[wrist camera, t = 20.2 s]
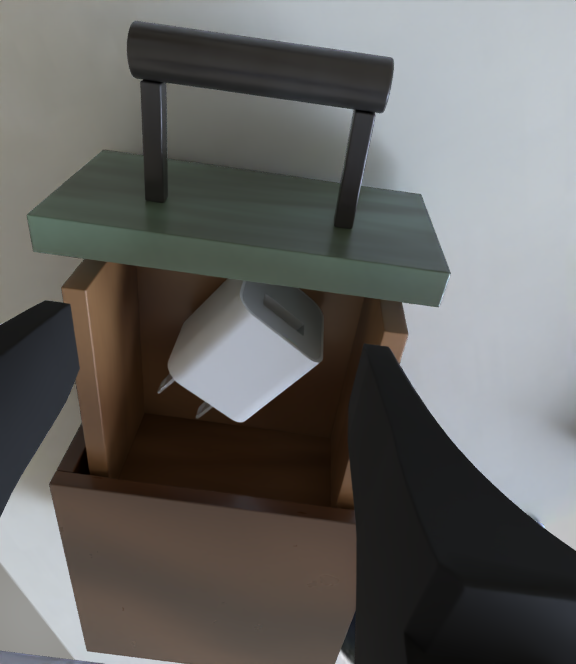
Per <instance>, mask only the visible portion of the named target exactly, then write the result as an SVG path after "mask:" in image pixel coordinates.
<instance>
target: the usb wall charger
mask: <svg viewBox="0 0 576 664" xmlns="http://www.w3.org/2000/svg"><path fill="white" fill-rule="evenodd" d="M323 338H324V316H323V313H322V311H321V309H320V308H319V306H318V305H317V304H316V303H315V302H314V301H313V300H312V299H311V298H310V297H309V296H308V295H306V294H305V293H304V292H303V291H302V290H300V289H299V288H295V287H287V286H280V285H273V284H266V283H258V282H251V281H244V280H236V279H229V278H228V279H227V280H226V281H225V282H224V283H223V284H222V285H221V286H220V287H219V288H218V289H217V290H216V291H215V292H214V293H213V294H212V295H211V296H210V297H209V298H208V299H207V300H206V301H205V302H204V303H203V304H202V305H201V306H200V307H199V308H198V309H197V310H196V311H195V312H194V313H193V314H192V315H191V316H190V317H189V318H188V319H187V320H186V321H185V322H184V323H183V325H182V328H181V330H180V333H179V335H178V338H177V340H176V343H175V345H174V348H173V350H172V353H171V355H170V358H169V360H168V370H169V372H170V374H169V375H168V376H167V377H166V378H165V379H164V380H163V381H162V382H161V384H160V387H159V389H158V392H157V393H158V394H160V393H161V392H162V391H163V390H165V389H166V388H167V387H168V386H169V385H170V384H172V383H173V382H174V381H176V382H177V383H179V384H180V385H181V386H183V387H184V388H186V389H187V390H189V391H190V392H192V393H193V394H195V395H196V396H198V397H199V398H201V399H202V400H204V401H205V402H204V403H203V404H201V405H200V406H199V408H198V411H197V415H196V418H197V419H198V418H200V417H201V416H202V415H204V414H205V413H206V412H207V411H209V410H210V409H211V408H212V407H214V408H216V409H217V410H219V411H220V412H221V413H223V414H224V415H226V416H227V417H229V418H230V419H232V420H234V421H236V422H244V421H246V420H247V419H248V418H250V417H251V416H252V415H253V414H255V413H256V412H257V411H259V410H260V409H261V408H262V407H264V406H265V405H266V404H268V403H269V402H270V401H271V400H273V399H274V398H275V397H276V396H278V395H279V394H280V393H282V392H283V391H284V390H285V389H287V388H288V387H289V386H291V385H292V384H293V383H294V382H296V381H297V380H298V379H300V378H301V377H302V376H303V375H305V374H306V373H307V372H309V371H310V370H311V369H312V368H314V367H315V366H316V365H318V364H319V363H320V362H321V361H322V360H323ZM203 408H204V409H203Z"/></svg>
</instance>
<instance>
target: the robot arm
mask: <svg viewBox="0 0 576 664" xmlns="http://www.w3.org/2000/svg"><path fill="white" fill-rule="evenodd" d="M79 370H80V366H79V359H78V352H77V345H76V339H75V332H74V325H73V318H72V311H71V304H68V303H61V302H54V301H46V300H45V301H43V302H41V303H39V304H37V305H35V306H33V307H31V308H30V309H28V310H26V311H24V312H22V313H21V314H19V315H17V316H15V317H14V318H12V319H10V320H8V321H7V322H5V323H3V324H1V325H0V517H1V515H2V512H3V510H4V508H5V506H6V504H7V502H8V500H9V498H10V495H11V493H12V492H13V490H14V488H15V486H16V484H17V482H18V481H19V479H20V477H21V475H22V474H23V472H24V470H25V469H26V467H27V466H28V464H29V462H30V461H31V459H32V457H33V456H34V454H35V453H36V451H37V449H38V448H39V446H40V444H41V443H42V441H43V439H44V438H45V436H46V435H47V433H48V431H49V430H50V428H51V426H52V425H53V423H54V421H55V420H56V418H57V416H58V415H59V413H60V411H61V410H62V408H63V406H64V404H65V403H66V400H67V398H68V396H69V394H70V391H71V389H72V387H73V384H74V382H75V380H76V377H77V375H78V372H79ZM348 451H349V461H350V471H351V481H352V491H353V501H354V511H355V521H356V627H355V664H576V551H575V550H574V549H572V548H571V547H569V546H568V545H567V544H565V543H564V542H562V541H561V540H560V539H558V538H557V537H555V536H554V535H552V534H551V533H550V532H548V531H547V530H546V529H545V527H544V525H543V524H542V523H539V522H536V521H535V520H533V519H532V518H531V517H530V516H528V515H527V514H526V513H525V512H523V511H522V510H521V509H520V508H519V507H518V506H516V505H515V504H514V503H513V502H512V501H511V500H509V499H508V498H507V497H506V496H505V495H504V494H503V493H502V492H501V491H500V490H499V489H497V488H496V487H495V486H494V485H493V484H492V483H491V482H490V481H489V480H488V479H487V478H486V477H485V476H484V475H483V474H482V473H481V472H480V471H479V470H478V469H477V468H476V467H475V466H474V465H473V464H472V463H471V462H470V461H469V460H468V459H467V457H466V456H465V455H464V454H463V453H462V452H461V451H460V450H459V449H458V448H457V446H456V445H455V444H454V443H453V442H452V441H451V439H450V438H449V437H448V436H447V434H446V433H445V432H444V430H443V429H442V428H441V427H440V425H439V424H438V423H437V421H436V420H435V419H434V417H433V416H432V414H431V413H430V412H429V410H428V409H427V407H426V406H425V404H424V403H423V401H422V400H421V398H420V397H419V395H418V394H417V392H416V391H415V389H414V388H413V386H412V384H411V383H410V381H409V380H408V378H407V376H406V375H405V373H404V371H403V370H402V368H401V366H400V364H399V363H398V361H397V359H396V357H395V356H394V354H393V352H392V351H391V349H390V348H389V347H388V346H380V345H373V344H365V343H364V345H363V349H362V353H361V357H360V361H359V365H358V369H357V373H356V377H355V381H354V385H353V389H352V392H351V396H350V400H349V404H348ZM0 664H103V663H95V662H87V661H79V660H71V659H63V658H54V657H47V656H38V655H30V654H23V653H15V652H6V651H0Z"/></svg>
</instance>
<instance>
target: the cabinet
mask: <svg viewBox="0 0 576 664" xmlns="http://www.w3.org/2000/svg"><path fill="white" fill-rule="evenodd" d="M49 487H50V491H51V495H52V500H53V504H54V509H55V513H56V517H57V522H58V526H59V531H60V535H61V539H62V544H63V548H64V553H65V557H66V561H67V566H68V570H69V575H70V579H71V583H72V588H73V592H74V597H75V601H76V605H77V610H78V614H79V619H80V623H81V627H82V632H83V636H84V641H85V645H86V649H87V651H90V652H98V653H105V654H113V655H121V656H129V657H137V658H145V659H153V660H161V661H169V662H177V663H184V664H335V662H336V660H337V657H338V654H339V652H340V649H341V647H342V644H343V641H344V639H345V636H346V634H347V631H348V628H349V626H350V623H351V621H352V618H353V615H354V613H355V610H356V521H355V511H354V510H352V509H344V508H336V507H329V506H321V505H314V504H306V503H298V502H291V501H283V500H275V499H268V498H260V497H253V496H245V495H237V494H230V493H222V492H215V491H207V490H199V489H192V488H184V487H177V486H169V485H161V484H154V483H146V482H138V481H131V480H123V479H116V478H108V477H100V476H93V475H90V471H89V465H88V458H87V452H86V445H85V439H84V432H83V426H82V423H81V425H80V427H79V429H78V431H77V433H76V435H75V436H74V438H73V440H72V442H71V444H70V446H69V448H68V450H67V451H66V453H65V455H64V457H63V459H62V461H61V463H60V464H59V466H58V468H57V471H56V472H55V474H54V476H53V477H52V479H51V481H50V483H49Z"/></svg>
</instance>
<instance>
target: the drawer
mask: <svg viewBox="0 0 576 664" xmlns="http://www.w3.org/2000/svg"><path fill="white" fill-rule="evenodd" d="M127 58H128V64H129V69H130V72H131V74H132V76H133V77H134V78H136V79H143V80H142V81H141V82H140V87H141V111H142V135H143V155H137V154H130V153H123V152H116V151H108V150H102V151H101V152H100V153H99V154H98V155H96V156H95V157H94V158H93V159H92V160H91V161H89V162H88V163H87V164H86V165H85V166H83V167H82V168H81V169H80V170H79V171H78V172H76V173H75V174H74V175H73V176H72V177H70V178H69V179H68V180H67V181H66V182H65V183H63V184H62V185H61V186H60V187H59V188H58V189H56V190H55V191H54V192H53V193H52V194H50V195H49V196H48V197H47V198H46V199H45V200H43V201H42V202H41V203H40V204H39V205H37V206H36V207H35V208H34V209H33V210H32V211H30V212H29V213H28V214H27V220H28V225H29V231H30V236H31V242H32V247H33V251H34V252H39V253H47V254H54V255H61V256H69V257H76V258H83V259H84V260H83V261H82V262H81V264H80V265H79V266H78V267H77V269H76V270H75V271H74V272H73V273H72V275H71V276H70V277H69V278H68V280H67V281H66V282H65V283H64V284H63V286H62V287H61V290H62V296H63V303H68V304H71V311H72V318H73V325H74V332H75V339H76V345H77V352H78V359H79V366H80V370H79V372H78V375H77V377H76V380H75V381H76V387H77V394H78V400H79V407H80V413H81V419H82V426H83V432H84V439H85V445H86V452H87V458H88V465H89V471H90V475H93V476H100V477H108V478H116V479H123V480H131V481H138V482H146V483H154V484H161V485H169V486H177V487H184V488H192V489H199V490H207V491H215V492H222V493H230V494H237V495H245V496H253V497H260V498H268V499H275V500H283V501H291V502H298V503H306V504H314V505H321V506H329V507H336V508H344V509H352V510H354V501H353V491H352V481H351V471H350V461H349V451H348V404H349V400H350V396H351V392H352V389H353V385H354V381H355V377H356V373H357V369H358V365H359V361H360V357H361V353H362V349H363V345H364V343H365V344H373V345H380V346H388V347H389V348H390V349H391V351H392V352H393V354H394V356H395V357H396V359H397V361H398V363H399V364H400V361H401V357H402V354H403V351H404V348H405V345H406V341H407V338H408V330H407V325H406V320H405V315H404V310H403V305H402V302H404V303H411V304H419V305H426V306H433V307H439V306H440V304H441V301H442V298H443V295H444V292H445V289H446V286H447V283H448V280H449V277H450V274H451V273H450V270H449V267H448V265H447V262H446V259H445V257H444V254H443V251H442V249H441V246H440V243H439V241H438V238H437V235H436V233H435V230H434V227H433V225H432V222H431V219H430V217H429V214H428V211H427V209H426V206H425V203H424V201H423V198H422V195H421V194H415V193H408V192H401V191H394V190H387V189H380V188H373V187H365V186H361V184H362V180H363V175H364V170H365V165H366V160H367V155H368V150H369V146H370V141H371V136H372V131H373V126H374V121H375V112H376V113H383V112H384V110H385V108H386V105H387V102H388V98H389V94H390V89H391V84H392V78H393V70H394V60H393V58H391V57H385V56H378V55H371V54H364V53H357V52H350V51H343V50H336V49H329V48H322V47H315V46H308V45H301V44H294V43H288V42H281V41H274V40H267V39H260V38H253V37H246V36H239V35H232V34H225V33H218V32H211V31H204V30H197V29H190V28H183V27H176V26H169V25H162V24H155V23H148V22H141V21H134V22H132V24H131V26H130V29H129V33H128V39H127ZM166 83H172V84H179V85H186V86H193V87H200V88H207V89H214V90H221V91H228V92H235V93H242V94H249V95H256V96H263V97H270V98H277V99H284V100H291V101H298V102H305V103H312V104H319V105H326V106H333V107H340V108H347V109H354V110H353V116H352V121H351V127H350V132H349V138H348V143H347V149H346V155H345V160H344V166H343V171H342V177H341V182H340V183H337V182H330V181H323V180H315V179H308V178H301V177H294V176H287V175H280V174H273V173H265V172H258V171H251V170H244V169H237V168H230V167H223V166H216V165H208V164H201V163H194V162H187V161H180V160H173V159H167V97H166ZM228 278H229V279H236V280H244V281H251V282H258V283H266V284H273V285H280V286H287V287H295V288H299V289H300V290H302V291H303V292H304V293H305V294H306V295H308V296H309V297H310V298H311V299H312V300H313V301H314V302H315V303H316V304H317V305H318V306H319V308H320V309H321V311H322V313H323V316H324V338H323V360H322V361H321V362H320V363H319V364H318V365H316V366H315V367H314V368H312V369H311V370H310V371H309V372H307V373H306V374H305V375H303V376H302V377H301V378H300V379H298V380H297V381H296V382H294V383H293V384H292V385H291V386H289V387H288V388H287V389H285V390H284V391H283V392H282V393H280V394H279V395H278V396H276V397H275V398H274V399H273V400H271V401H270V402H269V403H268V404H266V405H265V406H264V407H262V408H261V409H260V410H259V411H257V412H256V413H255V414H253V415H252V416H251V417H250V418H248V419H247V420H246V421H244V422H236V421H234V420H232V419H230V418H229V417H227V416H226V415H224V414H223V413H221V412H220V411H219V410H217V409H216V408H214V407H212V408H211V409H210V410H209V411H207V412H206V413H205V414H204V415H202V416H201V417H200V418H198V419H197V418H196V415H197V411H198V408H199V406H200V405H201V404H203V403H204V402H205V401H204V400H202V399H201V398H199V397H198V396H196V395H195V394H193V393H192V392H190V391H189V390H187V389H186V388H184V387H183V386H181V385H180V384H179V383H177V382H176V381H174V382H173V383H172V384H170V385H169V386H168V387H167V388H166V389H165V390H163V391H162V392H161V393H160V394H158V393H157V392H158V389H159V387H160V384H161V382H162V381H163V380H164V379H165V378H166V377H167V376H168V375H169V374H170V372H169V370H168V360H169V358H170V355H171V353H172V350H173V348H174V345H175V343H176V340H177V338H178V335H179V333H180V330H181V328H182V325H183V323H184V322H185V321H186V320H187V319H188V318H189V317H190V316H191V315H192V314H193V313H194V312H195V311H196V310H197V309H198V308H199V307H200V306H201V305H202V304H203V303H204V302H205V301H206V300H207V299H208V298H209V297H210V296H211V295H212V294H213V293H214V292H215V291H216V290H217V289H218V288H219V287H220V286H221V285H222V284H223V283H224V282H225V281H226V280H227V279H228ZM203 409H204V408H203Z"/></svg>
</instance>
